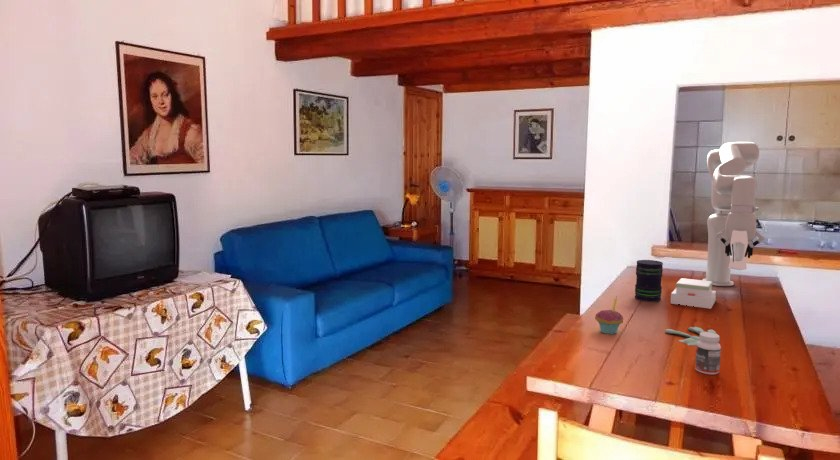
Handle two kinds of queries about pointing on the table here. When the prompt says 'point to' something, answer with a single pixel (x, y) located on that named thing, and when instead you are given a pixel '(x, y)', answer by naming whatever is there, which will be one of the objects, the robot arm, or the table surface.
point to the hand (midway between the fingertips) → (738, 256)
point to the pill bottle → (708, 353)
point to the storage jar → (648, 280)
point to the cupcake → (609, 320)
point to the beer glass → (738, 250)
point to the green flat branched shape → (690, 339)
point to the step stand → (694, 293)
